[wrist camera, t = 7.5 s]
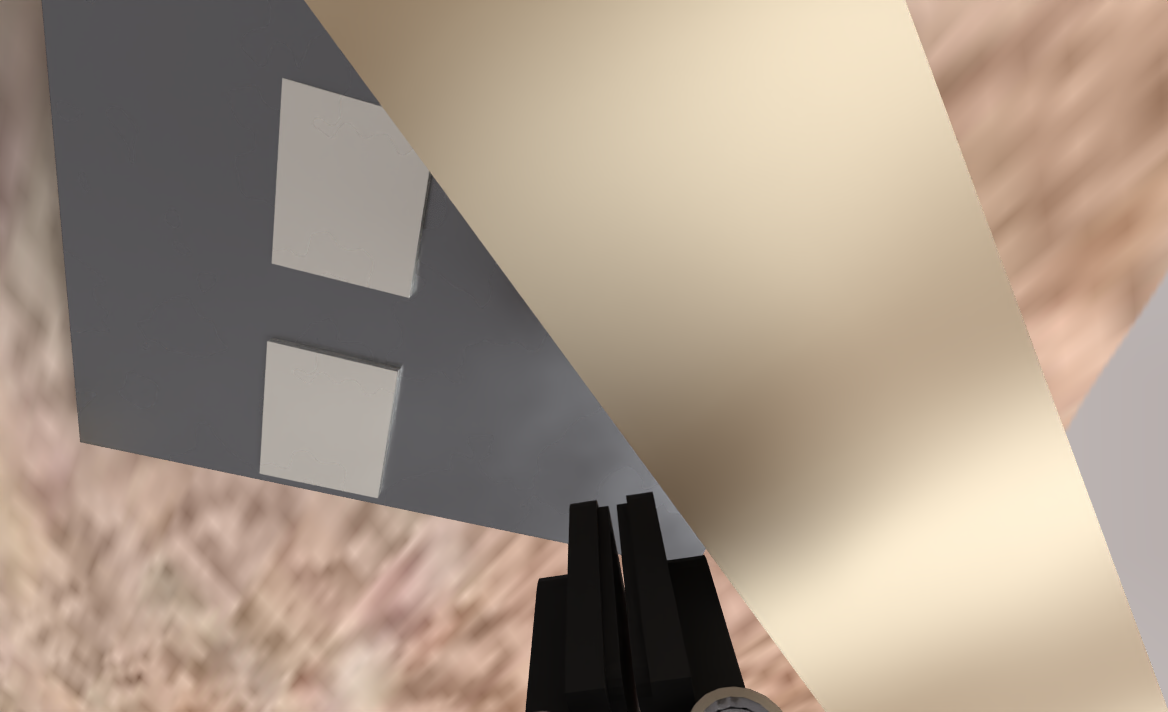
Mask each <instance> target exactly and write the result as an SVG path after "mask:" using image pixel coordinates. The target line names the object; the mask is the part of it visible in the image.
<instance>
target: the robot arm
mask: <svg viewBox="0 0 1168 712" xmlns="http://www.w3.org/2000/svg"><path fill="white" fill-rule="evenodd" d="M626 500H627V503H624V504H617V516H618V526H619V536H620V546H621V555H622V565H623V575H624V583H623V578H622V573H621V567H620V562H619V557H618V552H617V547H616V541H615V536H614V531H613V526H612V520H611V515H610V510H609V506H603V507H599V506H598V502H597V500H593V501H586V502H580V503H573V504H570V507H569V540H568V574H567V575H560V576H553V577H546V578H540V579H539V581H538V585H537V593H536V603H535V614H534V625H533V636H532V647H531V657H530V668H529V679H528V690H527V700H526V711H525V712H782V710H781V709H780V708H779V707H778V706H777V705H776V704H775V703H773V702H772V701H771V700H770V699H769V698H767V697H766V696H764V695H762V694H760V693H758V692H756V691H753V690H751V689H747V688H745V685H744V682H743V679H742V675H741V672H740V669H739V665H738V662H737V659H736V655H735V652H734V649H733V646H732V642H731V639H730V636H729V632H728V629H727V626H726V622H725V619H724V616H723V612H722V609H721V606H720V602H719V599H718V596H717V592H716V589H715V586H714V582H713V579H712V576H711V572H710V569H709V566H708V563H707V560H706V557H705V555H701V556H694V557H687V558H680V559H673V560H667V558H666V553H665V548H664V543H663V538H662V533H661V529H660V524H659V519H658V514H657V509H656V505H655V500H654V495H653V492H646V493H640V494H633V495H626ZM624 585H625V588H624ZM639 708H640V709H639Z"/></svg>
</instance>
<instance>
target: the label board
mask: <svg viewBox="0 0 1168 712" xmlns="http://www.w3.org/2000/svg"><path fill="white" fill-rule="evenodd" d="M42 9H43V21H44V32H45V44H46V55H47V67H48V78H49V90H50V101H51V113H52V124H53V136H54V147H55V159H56V170H57V182H58V193H59V204H60V216H61V227H62V239H63V250H64V262H65V273H66V285H67V296H68V308H69V319H70V331H71V342H72V354H73V365H74V377H75V388H76V400H77V411H78V423H79V434H80V442H82V443H87V444H92V445H97V446H101V447H106V448H111V449H116V450H121V451H125V452H130V453H135V454H140V455H145V456H149V457H154V458H159V459H164V460H169V461H173V462H178V463H183V464H188V465H193V466H197V467H202V468H207V469H212V470H217V471H222V472H226V473H231V474H236V475H241V476H246V477H250V478H255V479H260V480H265V481H270V482H274V483H279V484H284V485H289V486H294V487H298V488H303V489H308V490H313V491H318V492H322V493H327V494H332V495H337V496H342V497H346V498H351V499H356V500H361V501H366V502H370V503H375V504H380V505H385V506H390V507H394V508H399V509H404V510H409V511H414V512H418V513H423V514H428V515H433V516H438V517H442V518H447V519H452V520H457V521H462V522H466V523H471V524H476V525H481V526H486V527H490V528H495V529H500V530H505V531H510V532H515V533H519V534H524V535H529V536H534V537H539V538H543V539H548V540H553V541H558V542H563V543H567V544H568V540H569V507H570V504H573V503H580V502H586V501H593V500H597V502H598V506H599V507H603V506H609V510H610V515H611V520H612V526H613V531H614V536H615V541H616V547H617V552H618V554H620V555H621V546H620V536H619V526H618V516H617V504H624V503H627V500H626V495H633V494H640V493H646V492H653V495H654V500H655V505H656V509H657V514H658V519H659V524H660V529H661V533H662V538H663V543H664V548H665V553H666V558H667V560H673V559H680V558H687V557H694V556H701V555H703V553H704V551H705V549H706V548H705V547H704V545H703V544H702V543H701V541H700V540H699V538H698V537H697V536H696V534H695V533H694V532H693V530H692V529H691V527H690V526H689V525H688V523H687V522H686V521H685V519H684V518H683V517H682V515H681V514H680V512H679V511H678V510H677V508H676V507H675V506H674V504H673V503H672V502H671V500H670V499H669V497H668V496H667V495H666V493H665V492H664V491H663V489H662V488H661V487H660V485H659V484H658V482H657V481H656V480H655V478H654V477H653V476H652V474H651V473H650V472H649V470H648V469H647V467H646V466H645V465H644V463H643V462H642V461H641V459H640V458H639V457H638V455H637V454H636V452H635V451H634V450H633V448H632V447H631V446H630V444H629V443H628V442H627V440H626V439H625V437H624V436H623V435H622V433H621V432H620V431H619V429H618V428H617V427H616V425H615V424H614V422H613V421H612V420H611V418H610V417H609V416H608V414H607V413H606V411H605V410H604V409H603V407H602V406H601V405H600V403H599V402H598V401H597V399H596V398H595V396H594V395H593V394H592V392H591V391H590V390H589V388H588V387H587V386H586V384H585V383H584V381H583V380H582V379H581V377H580V376H579V375H578V373H577V372H576V371H575V369H574V368H573V366H572V365H571V364H570V362H569V361H568V360H567V358H566V357H565V356H564V354H563V353H562V351H561V350H560V349H559V347H558V346H557V345H556V343H555V342H554V341H553V339H552V338H551V336H550V335H549V334H548V332H547V331H546V330H545V328H544V327H543V326H542V324H541V323H540V321H539V320H538V319H537V317H536V316H535V315H534V313H533V312H532V310H531V309H530V308H529V306H528V305H527V304H526V302H525V301H524V300H523V298H522V297H521V295H520V294H519V293H518V291H517V290H516V289H515V287H514V286H513V285H512V283H511V282H510V280H509V279H508V278H507V276H506V275H505V274H504V272H503V271H502V270H501V268H500V267H499V265H498V264H497V263H496V261H495V260H494V259H493V257H492V256H491V255H490V253H489V252H488V250H487V249H486V248H485V246H484V245H483V244H482V242H481V241H480V240H479V238H478V237H477V235H476V234H475V233H474V231H473V230H472V229H471V227H470V226H469V225H468V223H467V222H466V220H465V219H464V218H463V216H462V215H461V214H460V212H459V211H458V209H457V208H456V207H455V205H454V204H453V203H452V201H451V200H450V199H449V197H448V196H447V194H446V193H445V192H444V190H443V189H442V188H441V186H440V185H439V184H438V182H437V181H436V179H435V178H434V177H433V175H432V174H431V173H430V171H429V170H428V169H427V167H426V166H425V164H424V163H423V162H422V160H421V159H420V158H419V156H418V155H417V154H416V152H415V151H414V149H413V148H412V147H411V145H410V144H409V143H408V141H407V140H406V139H405V137H404V136H403V134H402V133H401V132H400V130H399V129H398V128H397V126H396V125H395V124H394V122H393V121H392V119H391V118H390V117H389V115H388V114H387V113H386V111H385V110H384V109H383V107H382V106H381V104H380V103H379V102H378V100H377V99H376V98H375V96H374V95H373V93H372V92H371V91H370V89H369V88H368V87H367V85H366V84H365V83H364V81H363V80H362V78H361V77H360V76H359V74H358V73H357V72H356V70H355V69H354V68H353V66H352V65H351V63H350V62H349V61H348V59H347V58H346V57H345V55H344V54H343V53H342V51H341V50H340V48H339V47H338V46H337V44H336V43H335V42H334V40H333V39H332V38H331V36H330V35H329V33H328V32H327V31H326V29H325V28H324V27H323V25H322V24H321V23H320V21H319V20H318V18H317V17H316V16H315V14H314V13H313V12H312V10H311V9H310V8H309V6H308V5H307V3H306V2H305V1H304V0H42Z"/></svg>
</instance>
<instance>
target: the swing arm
mask: <svg viewBox="0 0 1168 712" xmlns="http://www.w3.org/2000/svg"><path fill="white" fill-rule="evenodd" d="M304 1H305V2H306V3H307V5H308V6H309V8H310V9H311V10H312V12H313V13H314V14H315V16H316V17H317V18H318V20H319V21H320V23H321V24H322V25H323V27H324V28H325V29H326V31H327V32H328V33H329V35H330V36H331V38H332V39H333V40H334V42H335V43H336V44H337V46H338V47H339V48H340V50H341V51H342V53H343V54H344V55H345V57H346V58H347V59H348V61H349V62H350V63H351V65H352V66H353V68H354V69H355V70H356V72H357V73H358V74H359V76H360V77H361V78H362V80H363V81H364V83H365V84H366V85H367V87H368V88H369V89H370V91H371V92H372V93H373V95H374V96H375V98H376V99H377V100H378V102H379V103H380V104H381V106H382V107H383V109H384V110H385V111H386V113H387V114H388V115H389V117H390V118H391V119H392V121H393V122H394V124H395V125H396V126H397V128H398V129H399V130H400V132H401V133H402V134H403V136H404V137H405V139H406V140H407V141H408V143H409V144H410V145H411V147H412V148H413V149H414V151H415V152H416V154H417V155H418V156H419V158H420V159H421V160H422V162H423V163H424V164H425V166H426V167H427V169H428V170H429V171H430V173H431V174H432V175H433V177H434V178H435V179H436V181H437V182H438V184H439V185H440V186H441V188H442V189H443V190H444V192H445V193H446V194H447V196H448V197H449V199H450V200H451V201H452V203H453V204H454V205H455V207H456V208H457V209H458V211H459V212H460V214H461V215H462V216H463V218H464V219H465V220H466V222H467V223H468V225H469V226H470V227H471V229H472V230H473V231H474V233H475V234H476V235H477V237H478V238H479V240H480V241H481V242H482V244H483V245H484V246H485V248H486V249H487V250H488V252H489V253H490V255H491V256H492V257H493V259H494V260H495V261H496V263H497V264H498V265H499V267H500V268H501V270H502V271H503V272H504V274H505V275H506V276H507V278H508V279H509V280H510V282H511V283H512V285H513V286H514V287H515V289H516V290H517V291H518V293H519V294H520V295H521V297H522V298H523V300H524V301H525V302H526V304H527V305H528V306H529V308H530V309H531V310H532V312H533V313H534V315H535V316H536V317H537V319H538V320H539V321H540V323H541V324H542V326H543V327H544V328H545V330H546V331H547V332H548V334H549V335H550V336H551V338H552V339H553V341H554V342H555V343H556V345H557V346H558V347H559V349H560V350H561V351H562V353H563V354H564V356H565V357H566V358H567V360H568V361H569V362H570V364H571V365H572V366H573V368H574V369H575V371H576V372H577V373H578V375H579V376H580V377H581V379H582V380H583V381H584V383H585V384H586V386H587V387H588V388H589V390H590V391H591V392H592V394H593V395H594V396H595V398H596V399H597V401H598V402H599V403H600V405H601V406H602V407H603V409H604V410H605V411H606V413H607V414H608V416H609V417H610V418H611V420H612V421H613V422H614V424H615V425H616V427H617V428H618V429H619V431H620V432H621V433H622V435H623V436H624V437H625V439H626V440H627V442H628V443H629V444H630V446H631V447H632V448H633V450H634V451H635V452H636V454H637V455H638V457H639V458H640V459H641V461H642V462H643V463H644V465H645V466H646V467H647V469H648V470H649V472H650V473H651V474H652V476H653V477H654V478H655V480H656V481H657V482H658V484H659V485H660V487H661V488H662V489H663V491H664V492H665V493H666V495H667V496H668V497H669V499H670V500H671V502H672V503H673V504H674V506H675V507H676V508H677V510H678V511H679V512H680V514H681V515H682V517H683V518H684V519H685V521H686V522H687V523H688V525H689V526H690V527H691V529H692V530H693V532H694V533H695V534H696V536H697V537H698V538H699V540H700V541H701V543H702V544H703V545H704V547H705V548H706V549H707V551H708V552H709V553H710V555H711V556H712V558H713V559H714V560H715V562H716V563H717V564H718V566H719V567H720V568H721V570H722V571H723V573H724V574H725V575H726V577H727V578H728V579H729V581H730V582H731V583H732V585H733V586H734V588H735V589H736V590H737V592H738V593H739V594H740V596H741V597H742V598H743V600H744V601H745V603H746V604H747V605H748V607H749V608H750V609H751V611H752V612H753V613H754V615H755V616H756V618H757V619H758V620H759V622H760V623H761V624H762V626H763V627H764V628H765V630H766V631H767V633H768V634H769V635H770V637H771V638H772V639H773V641H774V642H775V644H776V645H777V646H778V648H779V649H780V650H781V652H782V653H783V654H784V656H785V657H786V659H787V660H788V661H789V663H790V664H791V665H792V667H793V668H794V669H795V671H796V672H797V674H798V675H799V676H800V678H801V679H802V680H803V682H804V683H805V684H806V686H807V687H808V689H809V690H810V691H811V693H812V694H813V695H814V697H815V698H816V699H817V701H818V702H819V704H820V705H821V706H822V708H823V709H824V710H825V712H1168V709H1167V706H1166V703H1165V700H1164V698H1163V695H1162V692H1161V690H1160V687H1159V684H1158V682H1157V679H1156V676H1155V673H1154V671H1153V668H1152V665H1151V663H1150V660H1149V657H1148V655H1147V652H1146V649H1145V646H1144V644H1143V641H1142V638H1141V636H1140V633H1139V630H1138V627H1137V625H1136V622H1135V619H1134V617H1133V614H1132V611H1131V609H1130V606H1129V604H1128V601H1127V598H1126V596H1125V592H1124V590H1123V587H1122V584H1121V582H1120V579H1119V576H1118V574H1117V571H1116V568H1115V565H1114V563H1113V560H1112V557H1111V555H1110V552H1109V549H1108V547H1107V544H1106V541H1105V538H1104V536H1103V533H1102V531H1101V528H1100V525H1099V522H1098V520H1097V517H1096V514H1095V511H1094V509H1093V506H1092V503H1091V501H1090V498H1089V496H1088V493H1087V490H1086V487H1085V484H1084V482H1083V479H1082V476H1081V474H1080V471H1079V468H1078V466H1077V463H1076V460H1075V457H1074V455H1073V452H1072V449H1071V447H1070V444H1069V441H1068V439H1067V436H1066V433H1065V430H1064V428H1063V425H1062V422H1061V420H1060V417H1059V414H1058V412H1057V409H1056V406H1055V403H1054V401H1053V398H1052V395H1051V393H1050V390H1049V387H1048V385H1047V382H1046V379H1045V376H1044V374H1043V371H1042V368H1041V366H1040V363H1039V360H1038V358H1037V355H1036V352H1035V349H1034V347H1033V344H1032V341H1031V339H1030V336H1029V333H1028V331H1027V328H1026V325H1025V322H1024V320H1023V317H1022V314H1021V312H1020V309H1019V306H1018V304H1017V301H1016V298H1015V295H1014V293H1013V290H1012V287H1011V285H1010V282H1009V279H1008V277H1007V274H1006V271H1005V268H1004V266H1003V263H1002V260H1001V258H1000V255H999V252H998V250H997V247H996V244H995V241H994V239H993V236H992V233H991V231H990V228H989V225H988V223H987V220H986V217H985V214H984V212H983V209H982V206H981V204H980V201H979V198H978V196H977V193H976V190H975V187H974V185H973V182H972V179H971V177H970V174H969V171H968V169H967V166H966V163H965V160H964V158H963V155H962V152H961V150H960V147H959V144H958V142H957V139H956V136H955V133H954V131H953V128H952V125H951V123H950V120H949V117H948V115H947V112H946V109H945V106H944V104H943V101H942V98H941V96H940V93H939V90H938V88H937V85H936V82H935V79H934V77H933V74H932V71H931V69H930V66H929V63H928V61H927V58H926V55H925V52H924V50H923V47H922V44H921V42H920V39H919V36H918V34H917V31H916V28H915V25H914V23H913V20H912V17H911V15H910V12H909V9H908V7H907V4H906V1H905V0H304Z"/></svg>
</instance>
